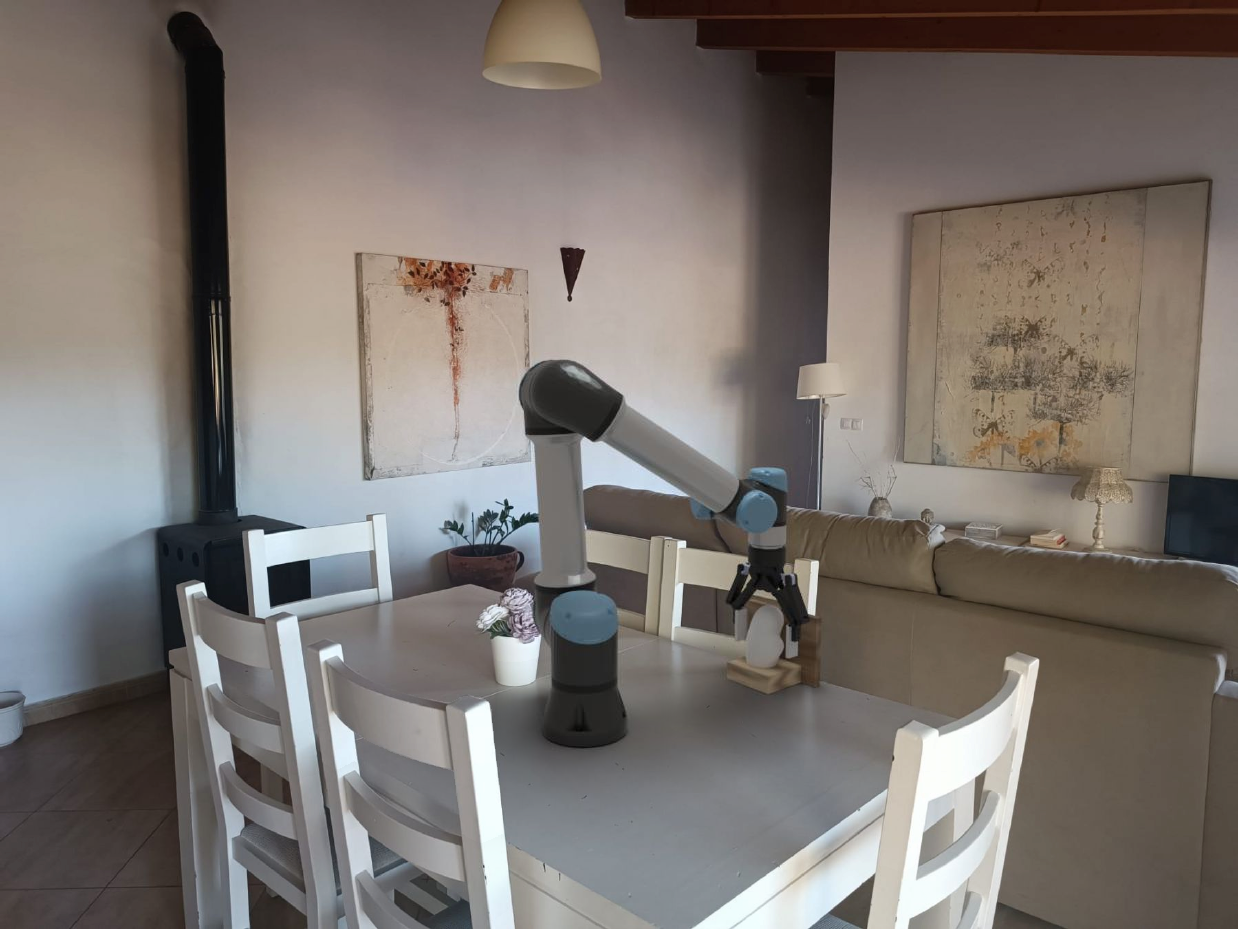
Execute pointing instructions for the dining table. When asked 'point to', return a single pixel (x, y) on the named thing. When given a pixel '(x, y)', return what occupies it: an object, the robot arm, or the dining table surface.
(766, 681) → the wall board
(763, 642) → the figurine
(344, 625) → the dining table surface
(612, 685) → the robot arm
